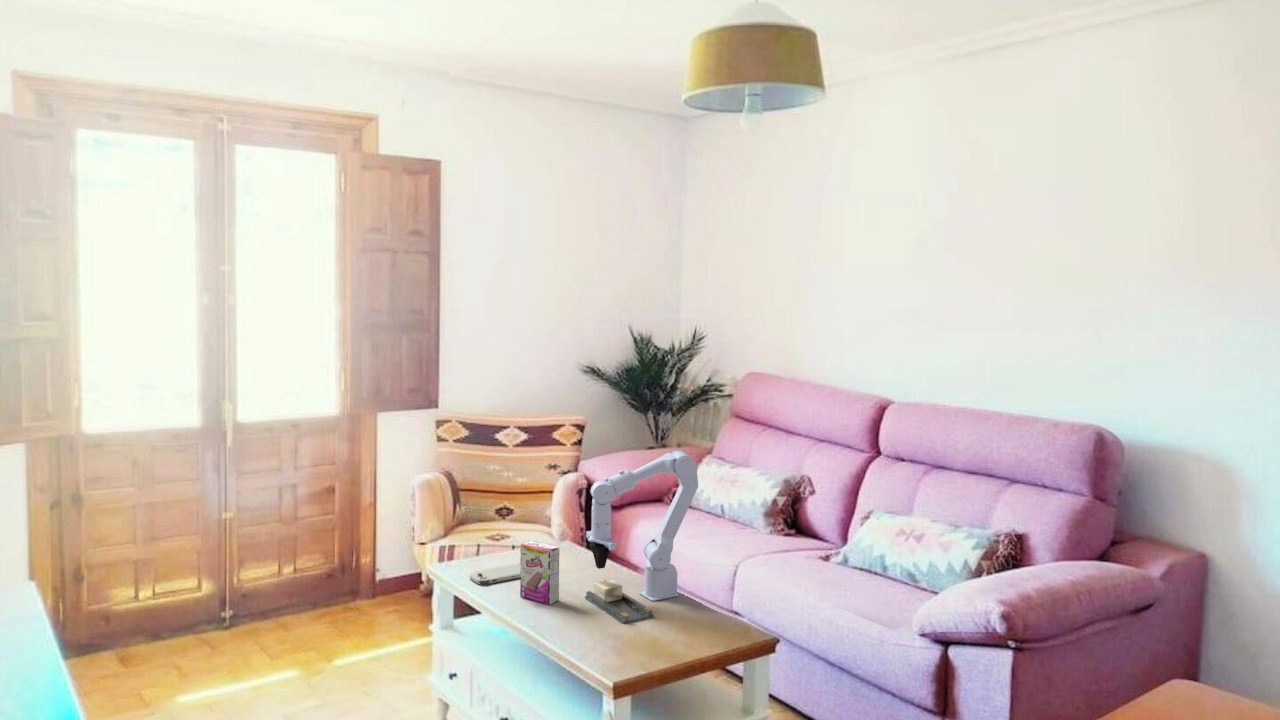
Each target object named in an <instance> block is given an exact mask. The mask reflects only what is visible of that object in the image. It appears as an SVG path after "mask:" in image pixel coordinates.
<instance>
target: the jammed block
mask: <svg viewBox="0 0 1280 720" xmlns="http://www.w3.org/2000/svg"><path fill="white" fill-rule="evenodd" d="M593 591H594V592H593V593H594V594H596V595H597V596H599V597H600V598H602V599H603V600H605V601H606V602H611V601H616V600H620V599H622V592H623V585H622V584H621V583H618V582H617V581H615V580H613V579H608V580H603V581H599V582H594V590H593Z"/></svg>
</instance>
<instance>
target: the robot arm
mask: <svg viewBox="0 0 1280 720" xmlns="http://www.w3.org/2000/svg"><path fill="white" fill-rule="evenodd" d="M698 469H699V468H698V466H697V464H696V462H695V460H694V459H693V457H692V456H690V455H688V454H687V453H686V452H685V451H684V450H682V449H675V450H672V451H671V452H667V453H664V454H663V455H661V456H659V457H658V458H655V459H654V460H652V461H650V462H648V463H647V464H644V465H643V466H640V467H639V468H637V469H635V470H633V471H630V470H628V469H626V470H623V469H621V470H618V473H616V474H615V475H612V476H610V477H605V478H603V480H598V481H595V482H593V485H591V487H590V490H589V493H590V495H591V497H592V501H591V528H590V529H591V530H587V531H586V532H585V533H586V535H585V536H586V537H585V538H587V541H588V542H590V543H589V545H588V546H589V548H590V550H591V553H592V554H593V555H592V556H593V559H594V563H595V566H596V568H597V569H605V568H606V564H607V561H608V557H609V554H610V553H611V551H615V550H617V543H616V542H615V541H614V539H613V537H612V536H611V534H612V532H611V531H612V504H611V503H612V501H613V498H615V497H618V496H619V495H622V494H624V493H626V492H628V491H631V490H632V489H635V487H636V485H637V483H638V482H641V481H643V480H645V479H648V478H650V477H652V476H655V475H658V474H660V473H667V474H670V475H671V474H672V475H673V474H674V473H675V475H676V478H677V480H678V482H679V486H678V489H677V490H676V493H675V495H674V497H673V499H672V501H671V503H670V506H669V508H668V510H667V512H666V514H665V515H664V519H663V520H662V523H661V525H660V527H659V529H658V531H657V532H656V533H654V535H653V537H651V539H650V540H649V541H648V542H647V543H646V544H645V545H644V549H643V553H644V556H645V558H646V559H647V560H646V561H645V564H644V590H640V591H638V594H640V595H641V596H643V597H645V598H646V599H648V600H650V601H652V602H655V601H659V600H666V599H670V598H675V597H678V596H679V593H678V570H677V568H676V566H675V565H674V564H673V563H671V559H672V558H671V557H672V552H673V550H674V539H675V537H676V535H677V534H678V531H679V529H680V527H681V525H682V523H683V520H684V518H685V517H686V514H687V512H688V510H689V508H690V505H691V504H692V502H693V500H694V497H695V495H696V492H697V490H698V488H699V479H698V478H699V477H698Z"/></svg>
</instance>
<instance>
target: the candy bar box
mask: <svg viewBox="0 0 1280 720" xmlns="http://www.w3.org/2000/svg"><path fill="white" fill-rule="evenodd" d="M520 563H521V578H520V593H519V594H520V596H519V597H520V598H522V599H526V600H530V601H532V602H537V603H541V604H544V605H546V606H547V605H548V606H550V604H551V605H553V604H555V603H556V601H557V602H558V601H559V600H560V597H559V596H560V547H559V546H555V545H552V544H546V543H542V542H539V541H534V540H528V541H525V542H522V543H521V544H520ZM554 602H555V603H554ZM552 603H553V604H552Z"/></svg>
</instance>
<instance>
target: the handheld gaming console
mask: <svg viewBox="0 0 1280 720" xmlns="http://www.w3.org/2000/svg"><path fill="white" fill-rule="evenodd" d="M517 578H519V579H521V562H519V563H514V564H508V565H502V566H498V567H493V568H492V567H491V568H486V569H480V570H475V571H473V572H471V573H470V574H469V579H470V580H471V581H472V582H474V583H475V584H477V585H478V584H479V585H478V586H481V585H486V586H489V585H491V584H490V583H493V584H496V582H498V583H502V582H501V581H503V582H507V581H506V580H508V581H512V580H511V579H513V580H518V579H517Z"/></svg>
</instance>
